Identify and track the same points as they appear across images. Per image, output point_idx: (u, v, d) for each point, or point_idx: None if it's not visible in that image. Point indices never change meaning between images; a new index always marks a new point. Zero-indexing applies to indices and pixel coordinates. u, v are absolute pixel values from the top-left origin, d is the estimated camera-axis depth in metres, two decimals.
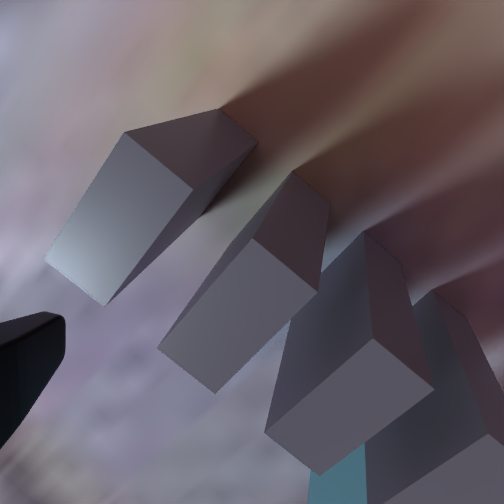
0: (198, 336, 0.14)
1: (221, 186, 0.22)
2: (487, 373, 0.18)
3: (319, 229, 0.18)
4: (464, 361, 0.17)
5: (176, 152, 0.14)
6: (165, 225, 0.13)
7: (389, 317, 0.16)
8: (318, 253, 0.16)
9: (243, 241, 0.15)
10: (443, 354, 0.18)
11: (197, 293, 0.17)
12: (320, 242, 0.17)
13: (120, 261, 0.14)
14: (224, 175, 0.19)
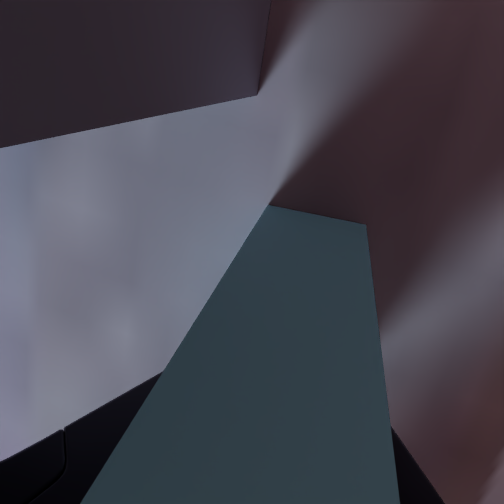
0: None
1: None
2: None
3: None
4: None
5: None
6: None
7: None
8: None
9: None
10: None
11: None
12: None
13: None
14: None
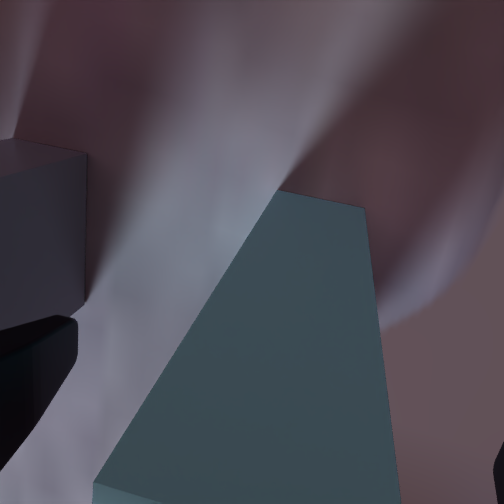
0: None
1: None
2: None
3: None
4: None
5: None
6: None
7: None
8: None
9: None
10: None
11: None
12: None
13: None
14: None
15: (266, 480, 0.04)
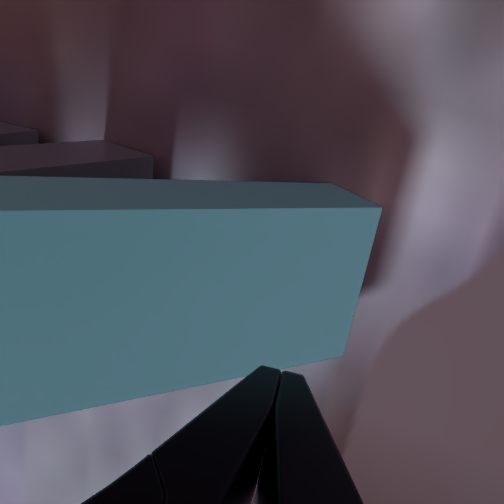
0: None
1: None
2: None
3: None
4: None
5: None
6: None
7: None
8: None
9: None
10: None
11: None
12: None
13: None
14: None
15: None
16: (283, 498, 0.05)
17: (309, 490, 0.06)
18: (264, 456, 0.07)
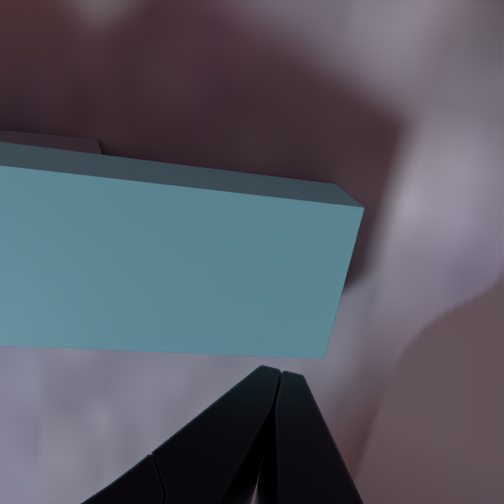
0: None
1: None
2: None
3: None
4: None
5: None
6: None
7: None
8: None
9: None
10: None
11: None
12: None
13: None
14: None
15: None
16: (283, 498, 0.05)
17: (309, 490, 0.06)
18: (264, 456, 0.07)
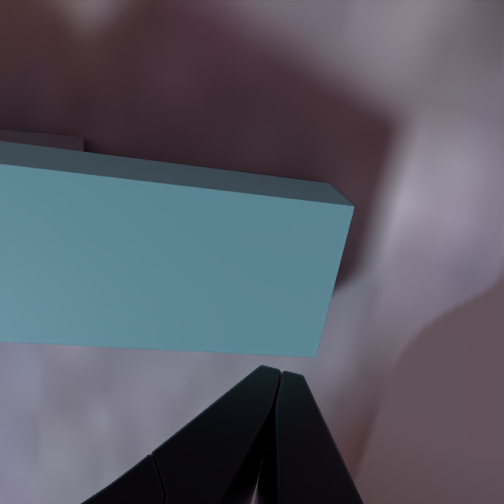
0: None
1: None
2: None
3: None
4: None
5: None
6: None
7: None
8: None
9: None
10: None
11: None
12: None
13: None
14: None
15: None
16: (283, 498, 0.05)
17: (309, 490, 0.06)
18: (264, 456, 0.07)
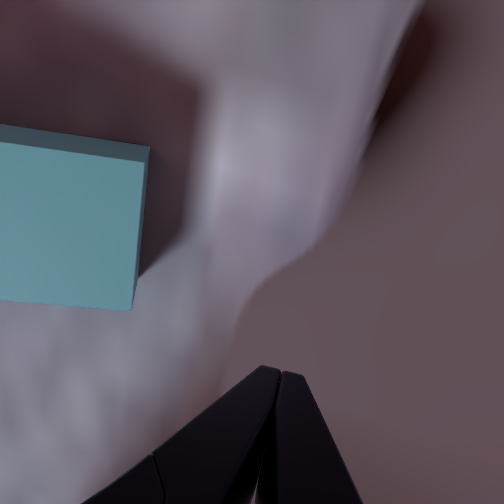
0: None
1: None
2: None
3: None
4: None
5: None
6: None
7: None
8: None
9: None
10: None
11: None
12: None
13: None
14: None
15: None
16: (283, 498, 0.05)
17: (309, 490, 0.06)
18: (264, 456, 0.07)
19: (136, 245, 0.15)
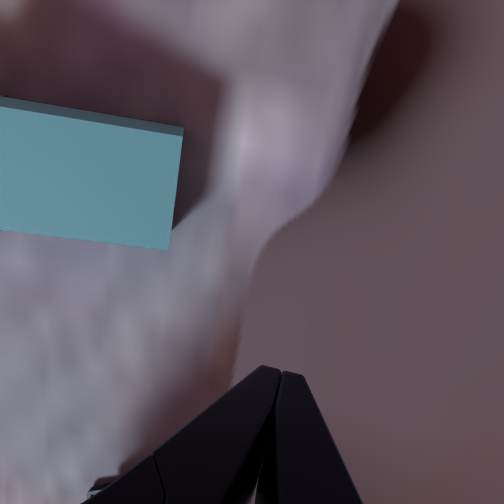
0: None
1: None
2: None
3: None
4: None
5: None
6: None
7: None
8: None
9: None
10: None
11: None
12: None
13: None
14: None
15: None
16: (283, 498, 0.05)
17: (309, 490, 0.06)
18: (264, 456, 0.07)
19: (174, 199, 0.20)
